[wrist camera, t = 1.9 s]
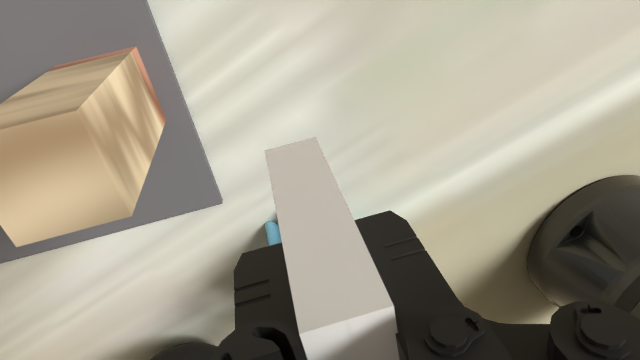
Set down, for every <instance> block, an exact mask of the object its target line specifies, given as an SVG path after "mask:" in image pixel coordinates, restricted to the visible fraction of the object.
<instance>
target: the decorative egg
mask: <svg viewBox="0 0 640 360" xmlns="http://www.w3.org/2000/svg"><path fill="white" fill-rule="evenodd" d="M217 348H218V347H217V346H214V345H211V344H206V343H186V344H181V345H178V346H174V347H171V348H169V349H167V350H165V351H163V352H161V353H159V354H157V355H156V356H154V357H153V358H151V359H150V360H211V359H212V355H213V354H214V352H215V351H216V349H217Z"/></svg>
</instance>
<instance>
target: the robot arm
mask: <svg viewBox="0 0 640 360" xmlns="http://www.w3.org/2000/svg"><path fill="white" fill-rule="evenodd" d="M265 155H266V160H267V165H268V171H269V176H270V181H271V187H272V192H273V197H274V203H275V208H276V213H277V219H278V224H279V229H280V235H281V240H282V242H281V243H278V244H274V245H271V246H267V247H264V248H260V249H257V250H253V251H249V252H246V253H242V255H241V257H240V259H239V261H238V264H237V266H236V268H235V270H234V290H235V293H234V299H235V330H234V331H233V332H232V333H231V334H230V335H228V336H227V337H226V338H225V339H224V340H223V341H222V342H221V343H220V345H219V346H218V348H217V349H216V351H215V352H214V354H213V355H212V359H211V360H640V176H634V175H622V176H615V177H611V178H607V179H604V180H601V181H598V182H595V183H593V184H591V185H589V186H587V187H585V188H583V189H581V190H580V191H578V192H577V193H575V194H573V195H572V196H571V197H569V198H568V199H567V200H565V201H564V202H563V203H562V204H561V205H559V206H558V207H557V208H556V209H555V210H554V211H553V212H552V213H551V214H550V216H549V217H548V218H547V219H546V220H545V222H544V223H543V224H542V226H541V227H540V229H539V230H538V232H537V234H536V235H535V237H534V239H533V242H532V244H531V247H530V250H529V254H528V262H527V266H528V273H529V276H530V278H531V280H532V282H533V283H534V285H535V286H536V287H537V288H538V289H539V290H540V291H541V292H542V293H543V295H544V296H545V297H546V298H547V299H548V300H549V301H551V302H552V303H553V304H555V305H556V306H558V307H560V308H559V309H558V310H557V311H556V312H555V313H554V314H553V315H552V317H551V322H550V324H503V323H497V322H493V321H489V320H486V319H484V318H482V317H481V316H480V315H479V314H478V313H476V312H474V311H472V310H470V309H468V308H466V307H464V306H463V305H462V303H461V302H460V301H459V300H458V299H457V297H456V296H455V294H454V293H453V291H452V290H451V288H450V286H449V285H448V283H447V282H446V280H445V279H444V277H443V276H442V274H441V273H440V271H439V270H438V268H437V266H436V265H435V263H434V262H433V260H432V259H431V257H430V256H429V254H428V253H427V251H425V249H424V247H423V245H422V243H421V242H420V240H419V239H418V238H417V237H416V234H415V233H414V231H413V230H412V228H411V227H410V225H409V223H408V222H407V220H405V219H403V218H402V217H400V216H398V215H397V214H395V213H393V212H392V211H386V212H383V213H379V214H375V215H372V216H368V217H365V218H361V219H358V220H354V219H353V217H352V214H351V212H350V210H349V208H348V206H347V204H346V201H345V199H344V197H343V195H342V193H341V191H340V189H339V186H338V184H337V182H336V180H335V178H334V176H333V173H332V171H331V169H330V167H329V165H328V163H327V160H326V158H325V156H324V154H323V152H322V150H321V147H320V145H319V143H318V141H317V139H316V137H314V138H310V139H306V140H303V141H299V142H295V143H291V144H288V145H284V146H280V147H276V148H273V149H269V150H265Z"/></svg>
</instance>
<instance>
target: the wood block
mask: <svg viewBox="0 0 640 360" xmlns="http://www.w3.org/2000/svg"><path fill="white" fill-rule="evenodd" d="M165 123H166V117H165V115H164V112H163V110H162V108H161V105H160V103H159V100H158V98H157V96H156V93H155V91H154V88H153V86H152V83H151V81H150V79H149V76H148V74H147V71H146V69H145V67H144V64H143V62H142V59H141V57H140V54H139V52H138V50H137V47H136V46H135V47H131V48H127V49H123V50H119V51H115V52H111V53H107V54H102V55H98V56H94V57H90V58H86V59H82V60H78V61H74V62H70V63H66V64H61V65H57V66H55V67H53V68H52V69H50V70H49V71H47V72H46V73H44V74H43V75H42V76H40V77H39V78H37V79H36V80H34V81H33V82H31V83H30V84H28V85H27V86H26V87H24V88H23V89H21V90H20V91H18V92H17V93H15V94H14V95H13V96H11V97H10V98H8V99H7V100H5V101H4V102H2V103H1V104H0V225H1V227H2V228H3V230H4V231H5V232H6V234H7V235H8V236H9V238H10V239H11V240H12V242H13V243H14V245H15V246H16V247H19V246H23V245H27V244H30V243H34V242H38V241H42V240H45V239H49V238H53V237H56V236H60V235H64V234H68V233H71V232H75V231H79V230H82V229H86V228H90V227H94V226H97V225H101V224H105V223H108V222H112V221H116V220H120V219H123V218H127V217H131V216H132V214H133V211H134V209H135V206H136V203H137V200H138V198H139V195H140V192H141V189H142V186H143V184H144V181H145V178H146V175H147V173H148V170H149V167H150V164H151V161H152V159H153V156H154V153H155V150H156V148H157V145H158V142H159V139H160V136H161V134H162V131H163V128H164V125H165Z"/></svg>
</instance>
